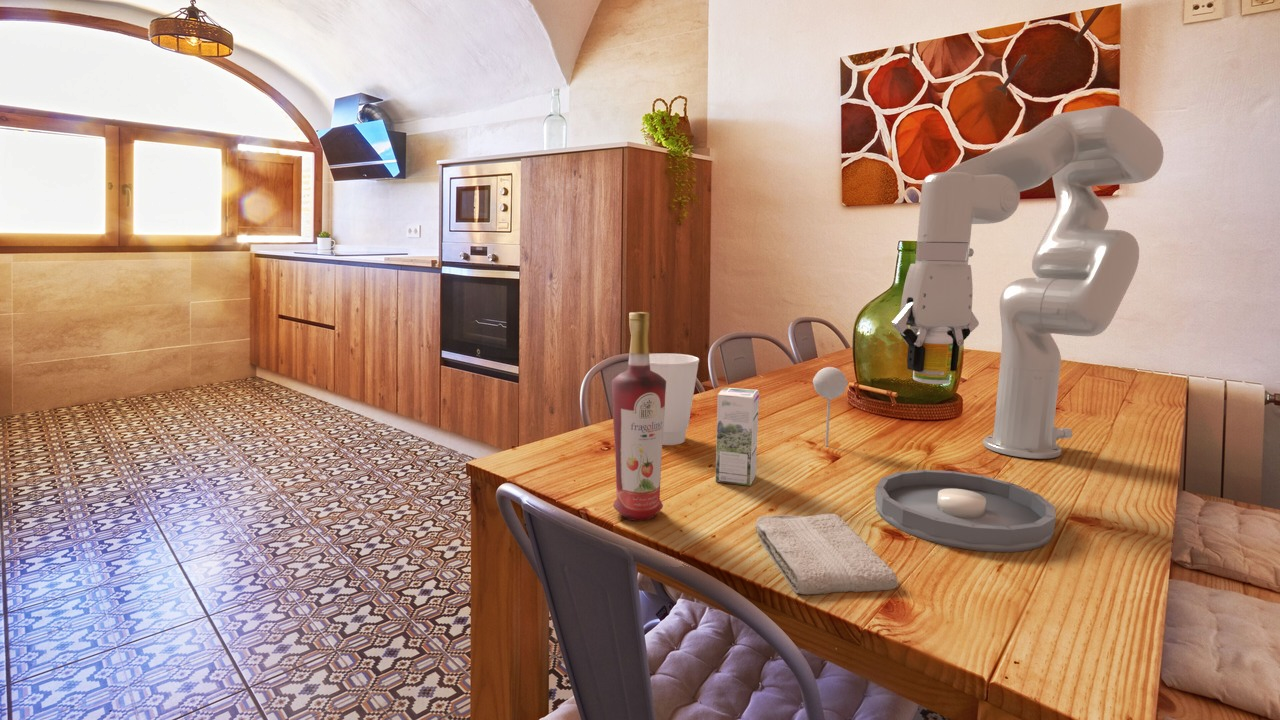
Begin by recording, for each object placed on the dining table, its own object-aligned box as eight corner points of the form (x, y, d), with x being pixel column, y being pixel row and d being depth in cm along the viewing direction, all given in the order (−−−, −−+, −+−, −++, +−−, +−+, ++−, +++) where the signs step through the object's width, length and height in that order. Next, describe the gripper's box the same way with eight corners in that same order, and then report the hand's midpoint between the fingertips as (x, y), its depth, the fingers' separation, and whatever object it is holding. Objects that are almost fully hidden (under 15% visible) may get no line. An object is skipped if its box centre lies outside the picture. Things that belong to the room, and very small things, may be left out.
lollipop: (807, 448, 125) (811, 368, 123) (812, 439, 130) (815, 363, 128) (842, 452, 123) (846, 371, 120) (845, 443, 128) (849, 365, 126)
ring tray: (968, 483, 107) (970, 465, 106) (1094, 541, 86) (1097, 519, 85) (845, 495, 101) (846, 476, 100) (948, 561, 80) (950, 537, 79)
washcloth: (834, 528, 91) (835, 506, 90) (902, 595, 73) (904, 569, 73) (748, 532, 89) (749, 509, 88) (797, 602, 71) (798, 575, 71)
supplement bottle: (952, 385, 104) (958, 323, 103) (915, 383, 106) (920, 321, 104) (945, 379, 110) (950, 319, 108) (910, 377, 111) (914, 318, 109)
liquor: (623, 528, 89) (624, 316, 84) (603, 508, 95) (603, 311, 91) (673, 519, 92) (676, 314, 87) (651, 501, 98) (653, 309, 94)
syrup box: (756, 475, 110) (760, 388, 107) (750, 487, 104) (753, 395, 102) (722, 471, 112) (724, 385, 109) (714, 483, 106) (716, 393, 104)
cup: (679, 452, 122) (680, 365, 119) (624, 442, 128) (624, 359, 125) (708, 437, 132) (710, 356, 129) (656, 428, 138) (656, 351, 135)
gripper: (971, 256, 110) (961, 365, 113) (879, 253, 106) (870, 367, 109) (1006, 256, 103) (994, 373, 106) (909, 254, 99) (898, 375, 102)
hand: (931, 368), depth 107 cm, fingers closed on supplement bottle, 5 cm apart
